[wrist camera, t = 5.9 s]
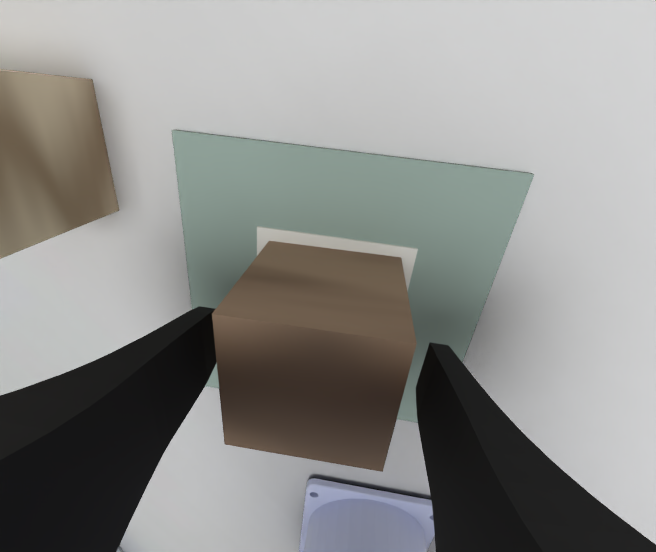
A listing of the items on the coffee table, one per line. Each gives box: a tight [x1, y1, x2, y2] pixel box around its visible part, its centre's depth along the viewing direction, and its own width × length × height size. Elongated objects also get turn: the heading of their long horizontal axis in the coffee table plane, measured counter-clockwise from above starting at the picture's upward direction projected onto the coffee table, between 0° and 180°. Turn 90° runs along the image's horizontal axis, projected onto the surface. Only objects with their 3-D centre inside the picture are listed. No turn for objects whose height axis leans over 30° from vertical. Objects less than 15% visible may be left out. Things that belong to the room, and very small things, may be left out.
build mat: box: [172, 130, 534, 423], centre depth 14 cm, size 12×12×1 cm
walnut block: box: [212, 241, 417, 472], centre depth 11 cm, size 5×5×5 cm
